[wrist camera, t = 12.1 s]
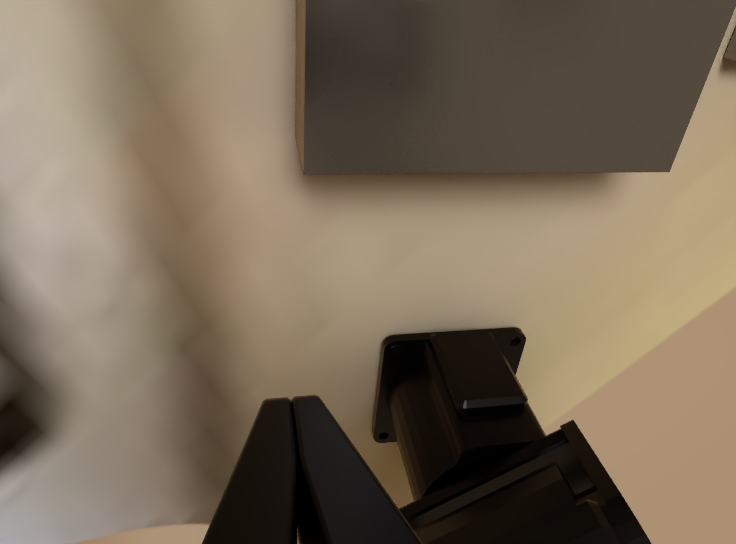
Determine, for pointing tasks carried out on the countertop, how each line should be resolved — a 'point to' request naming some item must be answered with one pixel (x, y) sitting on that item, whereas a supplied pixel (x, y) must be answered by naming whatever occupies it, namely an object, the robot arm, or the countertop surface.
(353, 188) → the countertop surface
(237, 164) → the countertop surface
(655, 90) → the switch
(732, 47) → the holster
